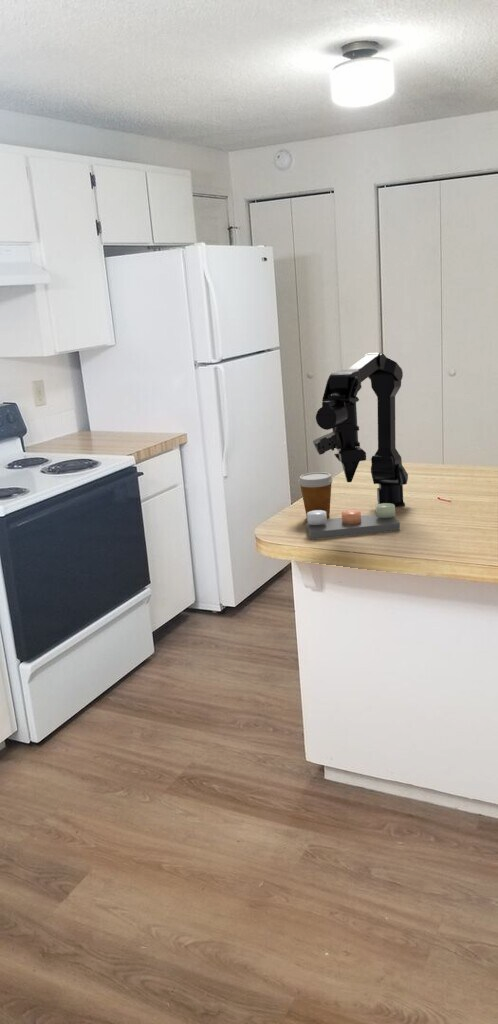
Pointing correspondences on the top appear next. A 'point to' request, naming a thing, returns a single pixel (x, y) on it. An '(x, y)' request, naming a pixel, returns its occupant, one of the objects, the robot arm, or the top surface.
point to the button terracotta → (351, 517)
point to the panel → (352, 527)
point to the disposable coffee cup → (316, 491)
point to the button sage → (385, 510)
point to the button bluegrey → (316, 517)
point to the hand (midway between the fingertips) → (349, 481)
